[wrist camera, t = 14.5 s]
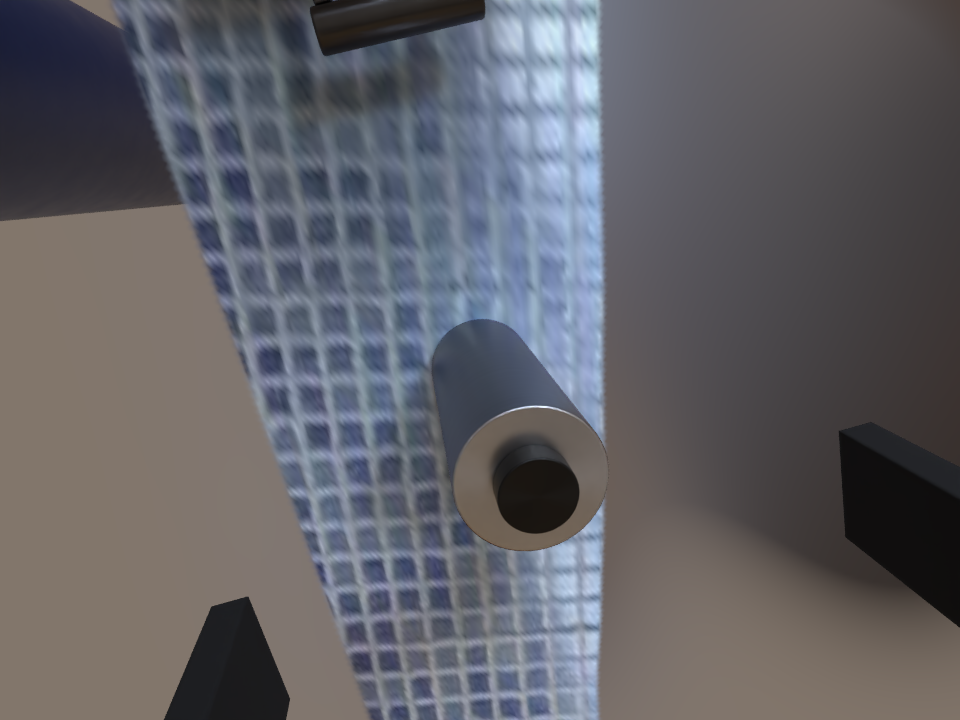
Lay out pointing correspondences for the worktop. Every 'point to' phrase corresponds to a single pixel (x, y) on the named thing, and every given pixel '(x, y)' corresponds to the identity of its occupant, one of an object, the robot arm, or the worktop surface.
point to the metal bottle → (514, 441)
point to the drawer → (385, 20)
